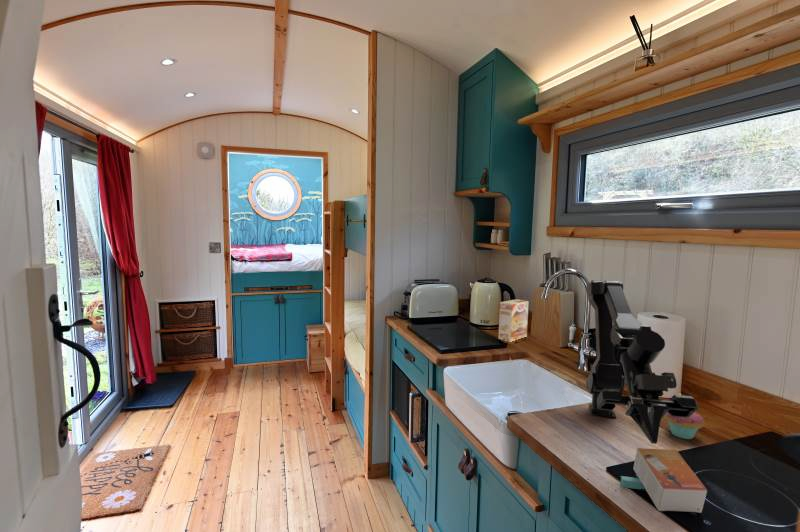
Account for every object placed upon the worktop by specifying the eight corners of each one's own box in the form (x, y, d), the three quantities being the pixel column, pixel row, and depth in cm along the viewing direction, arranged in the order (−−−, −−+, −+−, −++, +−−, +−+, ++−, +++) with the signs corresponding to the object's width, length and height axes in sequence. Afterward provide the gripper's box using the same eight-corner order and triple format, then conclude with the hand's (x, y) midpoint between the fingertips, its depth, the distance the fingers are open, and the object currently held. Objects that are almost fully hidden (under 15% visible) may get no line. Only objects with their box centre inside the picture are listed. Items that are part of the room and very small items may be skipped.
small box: (675, 448, 84) (709, 490, 74) (671, 470, 86) (703, 513, 76) (636, 447, 85) (663, 488, 75) (632, 468, 86) (658, 511, 76)
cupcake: (684, 444, 101) (688, 398, 100) (654, 428, 109) (658, 385, 108) (710, 440, 104) (714, 395, 103) (679, 425, 112) (682, 382, 111)
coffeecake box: (510, 345, 187) (512, 304, 186) (497, 342, 193) (499, 301, 191) (527, 340, 197) (529, 300, 196) (514, 337, 203) (516, 298, 201)
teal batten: (620, 482, 85) (621, 476, 85) (684, 490, 83) (684, 484, 83) (623, 487, 84) (623, 480, 84) (687, 495, 81) (688, 488, 81)
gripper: (603, 353, 90) (616, 424, 80) (697, 360, 86) (723, 435, 76) (591, 375, 98) (602, 442, 88) (677, 382, 94) (698, 453, 85)
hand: (654, 443), depth 84 cm, fingers closed
